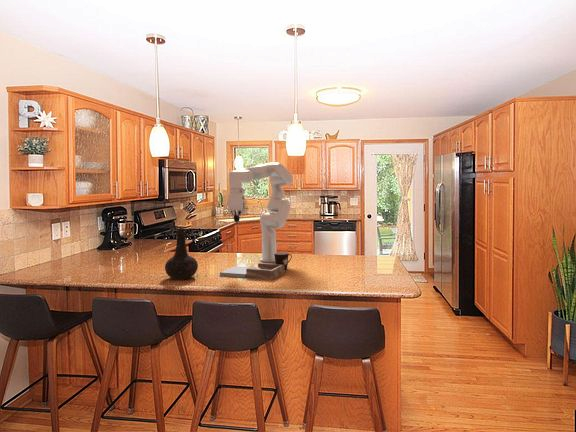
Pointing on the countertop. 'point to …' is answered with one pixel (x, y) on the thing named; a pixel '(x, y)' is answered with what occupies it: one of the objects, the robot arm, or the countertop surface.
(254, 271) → the box
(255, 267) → the cream tile
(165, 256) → the countertop surface
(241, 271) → the slate plate
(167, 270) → the dark bulbous vase
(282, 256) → the coffee mug
